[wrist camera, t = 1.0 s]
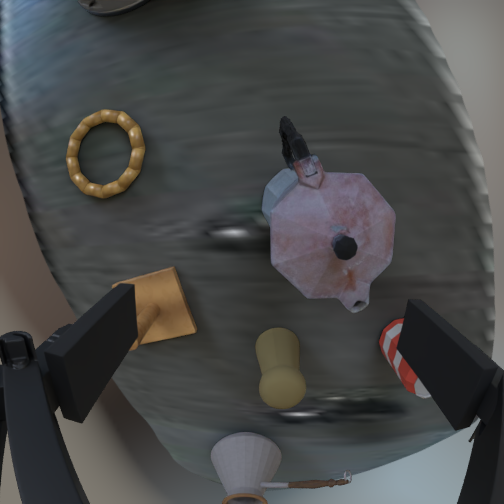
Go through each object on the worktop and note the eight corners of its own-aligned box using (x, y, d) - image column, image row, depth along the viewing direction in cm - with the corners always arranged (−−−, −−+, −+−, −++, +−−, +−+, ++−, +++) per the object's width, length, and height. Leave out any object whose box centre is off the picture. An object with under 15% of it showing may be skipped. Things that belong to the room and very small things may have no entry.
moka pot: (289, 275, 40) (318, 361, 20) (229, 163, 37) (202, 147, 17) (356, 240, 39) (438, 295, 19) (301, 127, 36) (347, 78, 16)
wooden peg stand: (115, 282, 40) (79, 312, 30) (174, 266, 40) (150, 293, 30) (139, 341, 42) (113, 381, 32) (197, 328, 42) (182, 370, 32)
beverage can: (393, 309, 41) (433, 350, 29) (422, 326, 42) (463, 367, 30) (369, 344, 42) (400, 393, 30) (399, 359, 43) (433, 406, 31)
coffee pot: (236, 472, 49) (232, 537, 34) (198, 437, 46) (185, 507, 32) (344, 429, 46) (366, 496, 31) (316, 387, 44) (336, 461, 29)
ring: (63, 131, 36) (57, 130, 34) (134, 98, 35) (129, 95, 33) (82, 208, 38) (76, 209, 37) (156, 179, 37) (152, 179, 36)
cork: (297, 365, 43) (308, 416, 32) (254, 365, 43) (253, 416, 32) (301, 327, 42) (315, 374, 31) (256, 326, 42) (256, 373, 31)
